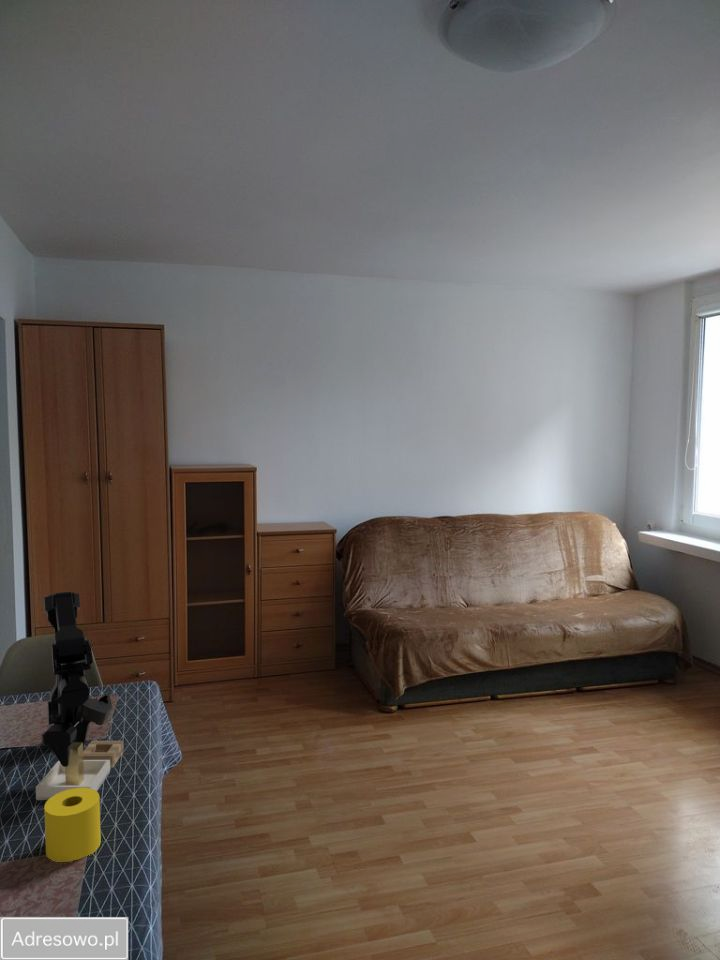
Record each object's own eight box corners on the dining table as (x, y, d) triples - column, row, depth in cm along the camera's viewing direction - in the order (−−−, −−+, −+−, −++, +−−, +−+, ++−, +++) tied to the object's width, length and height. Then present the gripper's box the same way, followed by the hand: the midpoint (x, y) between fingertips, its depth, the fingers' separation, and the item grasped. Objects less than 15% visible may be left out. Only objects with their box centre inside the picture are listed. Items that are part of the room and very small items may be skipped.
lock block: (91, 752, 173) (91, 740, 173) (123, 752, 173) (123, 740, 173) (79, 768, 165) (79, 756, 165) (112, 767, 165) (112, 755, 165)
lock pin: (71, 779, 159) (69, 742, 158) (83, 779, 159) (82, 742, 158) (65, 786, 156) (64, 748, 155) (79, 786, 156) (77, 748, 155)
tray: (59, 772, 163) (58, 760, 163) (110, 771, 163) (110, 759, 163) (36, 800, 151) (35, 787, 151) (91, 799, 151) (90, 786, 151)
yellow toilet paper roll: (66, 869, 128) (65, 821, 127) (35, 851, 133) (33, 805, 132) (111, 842, 136) (110, 797, 135) (80, 826, 141) (78, 782, 140)
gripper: (91, 707, 146) (93, 777, 147) (120, 675, 165) (122, 737, 166) (39, 707, 146) (42, 777, 147) (74, 675, 165) (76, 737, 166)
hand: (73, 756), depth 157 cm, fingers open, 9 cm apart
